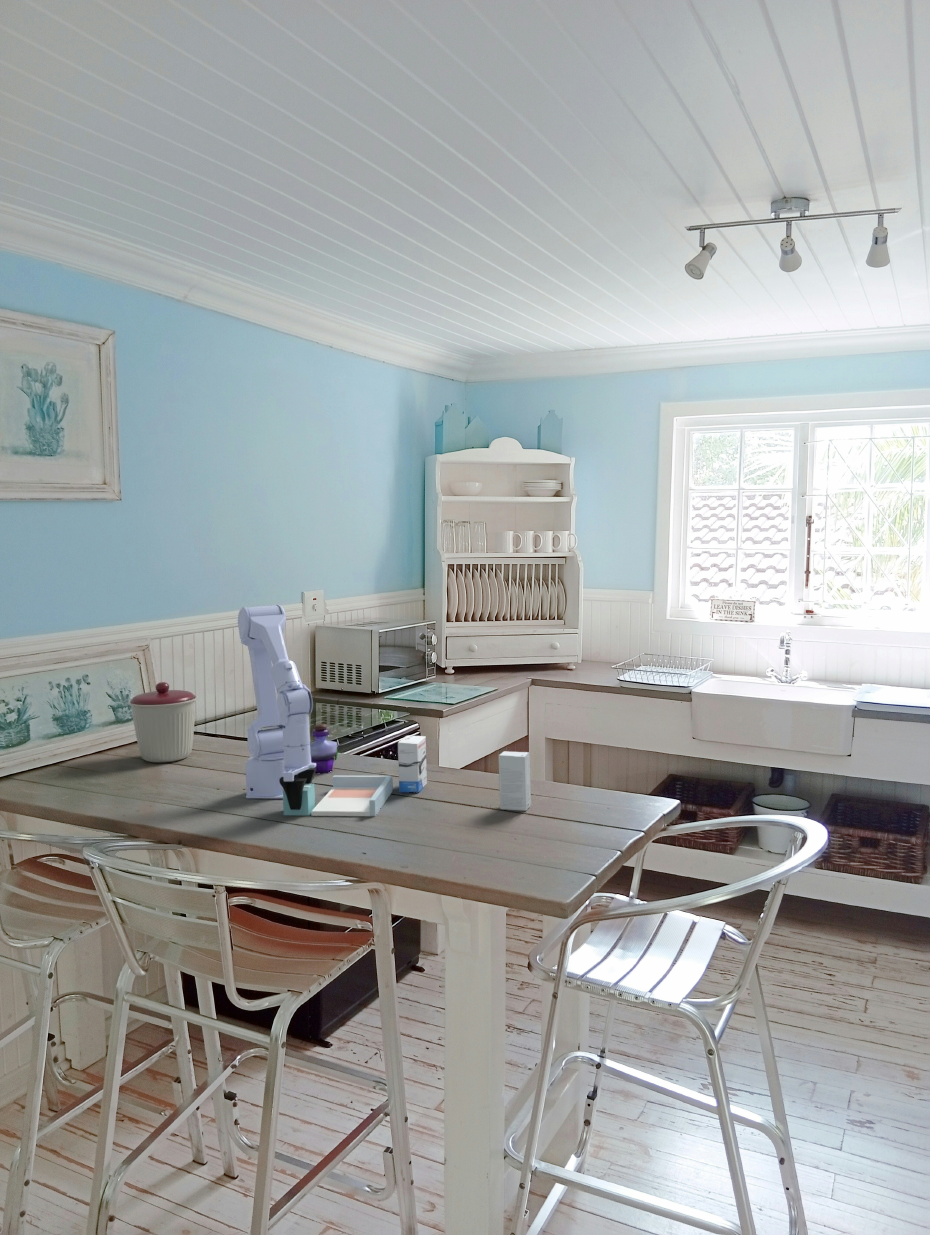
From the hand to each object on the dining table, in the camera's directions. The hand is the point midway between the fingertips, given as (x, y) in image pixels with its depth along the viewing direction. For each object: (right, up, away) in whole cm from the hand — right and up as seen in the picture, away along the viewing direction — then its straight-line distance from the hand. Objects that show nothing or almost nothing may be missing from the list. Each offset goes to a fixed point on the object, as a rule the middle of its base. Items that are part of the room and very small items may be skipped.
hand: (299, 805), depth 212 cm
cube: (0, -1, 0) cm, 1 cm away
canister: (-45, +2, +53) cm, 69 cm away
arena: (+11, 0, +7) cm, 13 cm away
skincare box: (+47, -1, -1) cm, 47 cm away
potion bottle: (0, +2, +34) cm, 34 cm away
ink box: (+24, +1, +16) cm, 29 cm away
